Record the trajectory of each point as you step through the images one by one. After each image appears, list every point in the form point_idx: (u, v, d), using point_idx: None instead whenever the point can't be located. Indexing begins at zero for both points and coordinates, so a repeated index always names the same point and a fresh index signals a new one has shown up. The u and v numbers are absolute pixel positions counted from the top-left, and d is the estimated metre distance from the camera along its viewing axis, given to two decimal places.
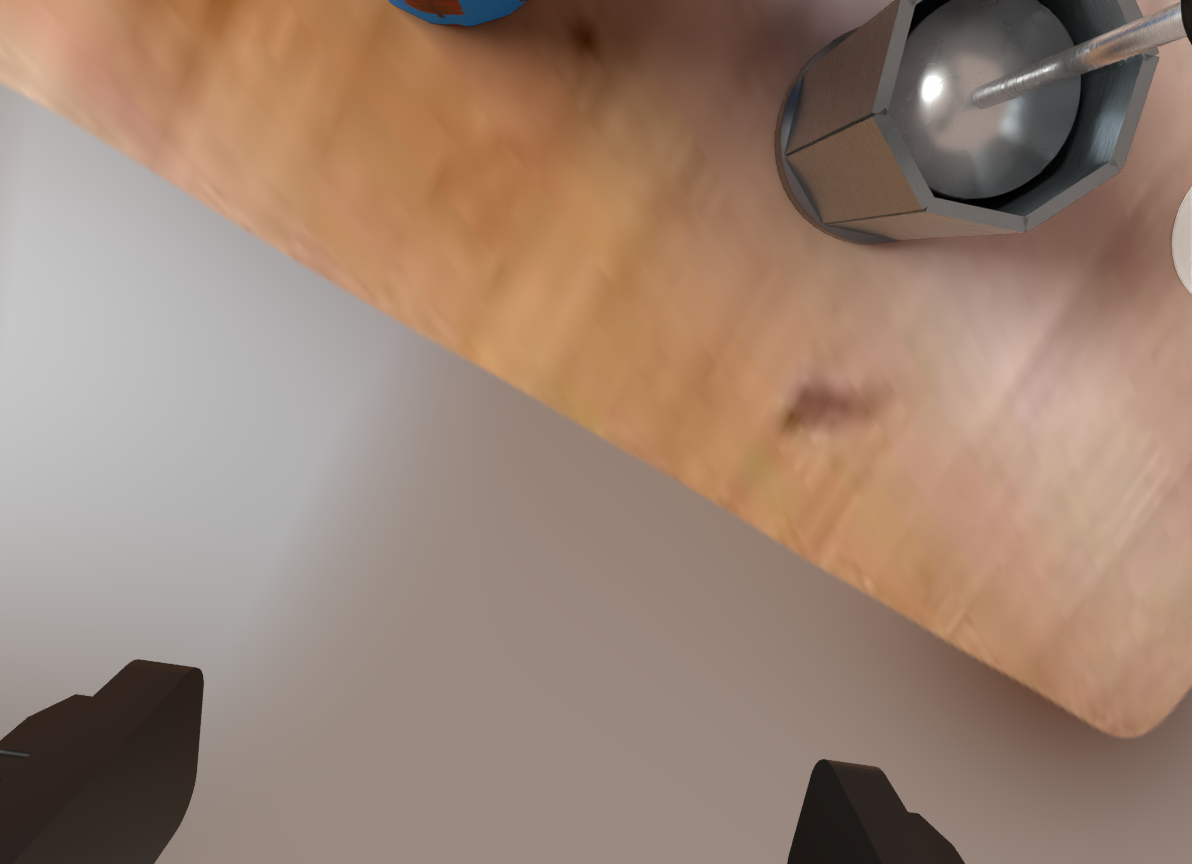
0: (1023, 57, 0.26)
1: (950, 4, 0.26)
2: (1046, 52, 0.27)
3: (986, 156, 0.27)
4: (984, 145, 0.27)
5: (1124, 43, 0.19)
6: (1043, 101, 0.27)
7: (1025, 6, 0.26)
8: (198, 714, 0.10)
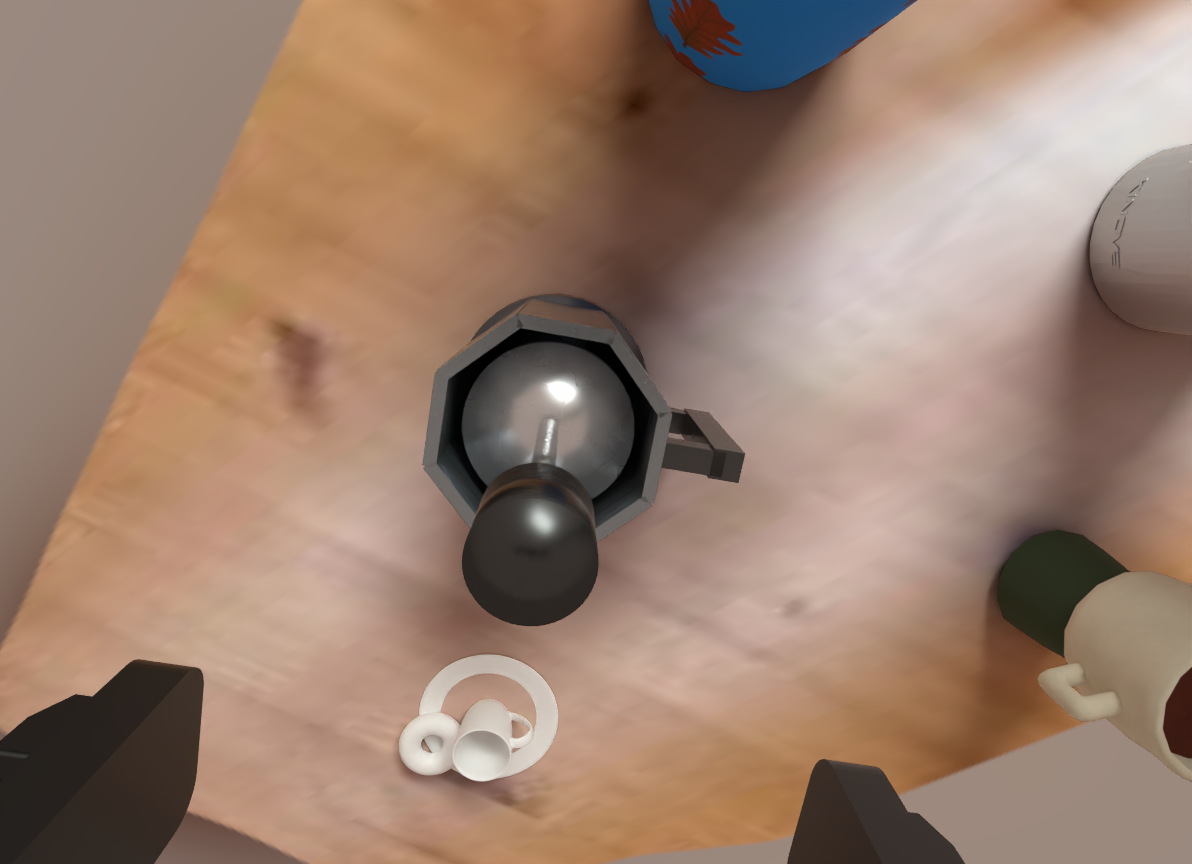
0: (581, 457, 0.31)
1: (622, 389, 0.30)
2: (586, 477, 0.31)
3: (498, 436, 0.30)
4: (508, 433, 0.30)
5: None
6: None
7: (621, 453, 0.31)
8: (198, 714, 0.10)
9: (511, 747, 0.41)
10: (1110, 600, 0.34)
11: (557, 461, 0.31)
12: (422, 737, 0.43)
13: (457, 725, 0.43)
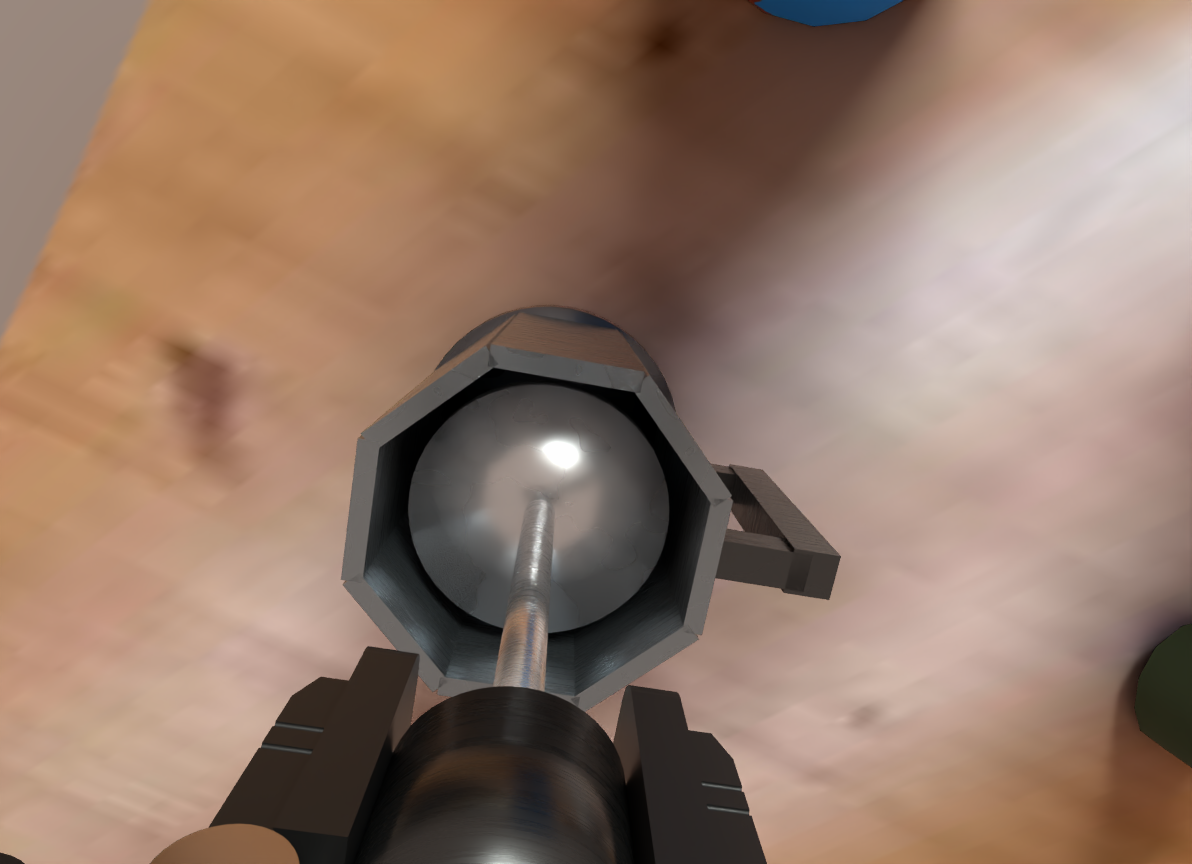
0: (589, 556, 0.20)
1: (651, 455, 0.20)
2: (596, 584, 0.21)
3: (464, 526, 0.20)
4: (478, 521, 0.20)
5: (510, 641, 0.13)
6: None
7: (649, 550, 0.20)
8: (414, 695, 0.11)
9: None
10: None
11: (552, 562, 0.20)
12: None
13: None
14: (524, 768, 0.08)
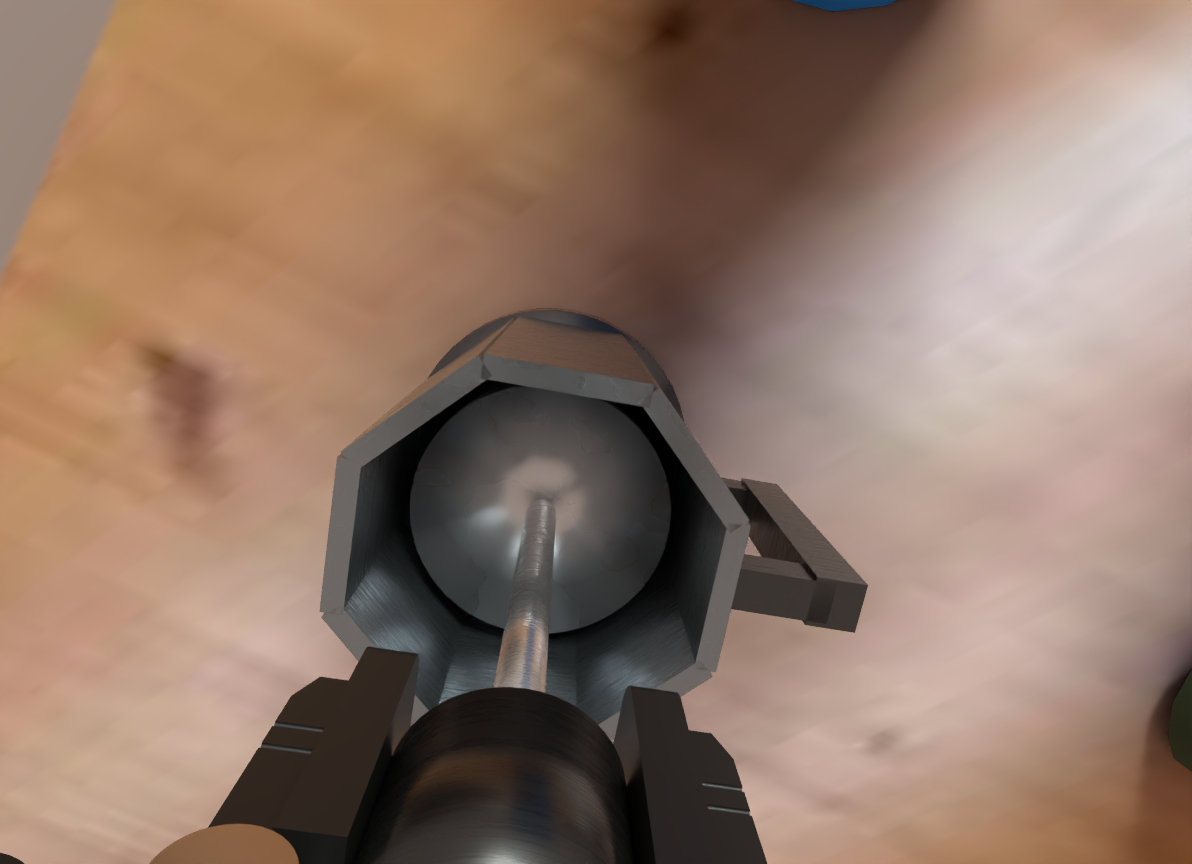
0: (591, 557, 0.20)
1: (653, 456, 0.20)
2: (597, 585, 0.20)
3: (465, 526, 0.20)
4: (479, 522, 0.20)
5: (511, 641, 0.13)
6: None
7: (651, 551, 0.20)
8: (414, 695, 0.11)
9: None
10: None
11: (554, 562, 0.20)
12: None
13: None
14: (524, 769, 0.08)
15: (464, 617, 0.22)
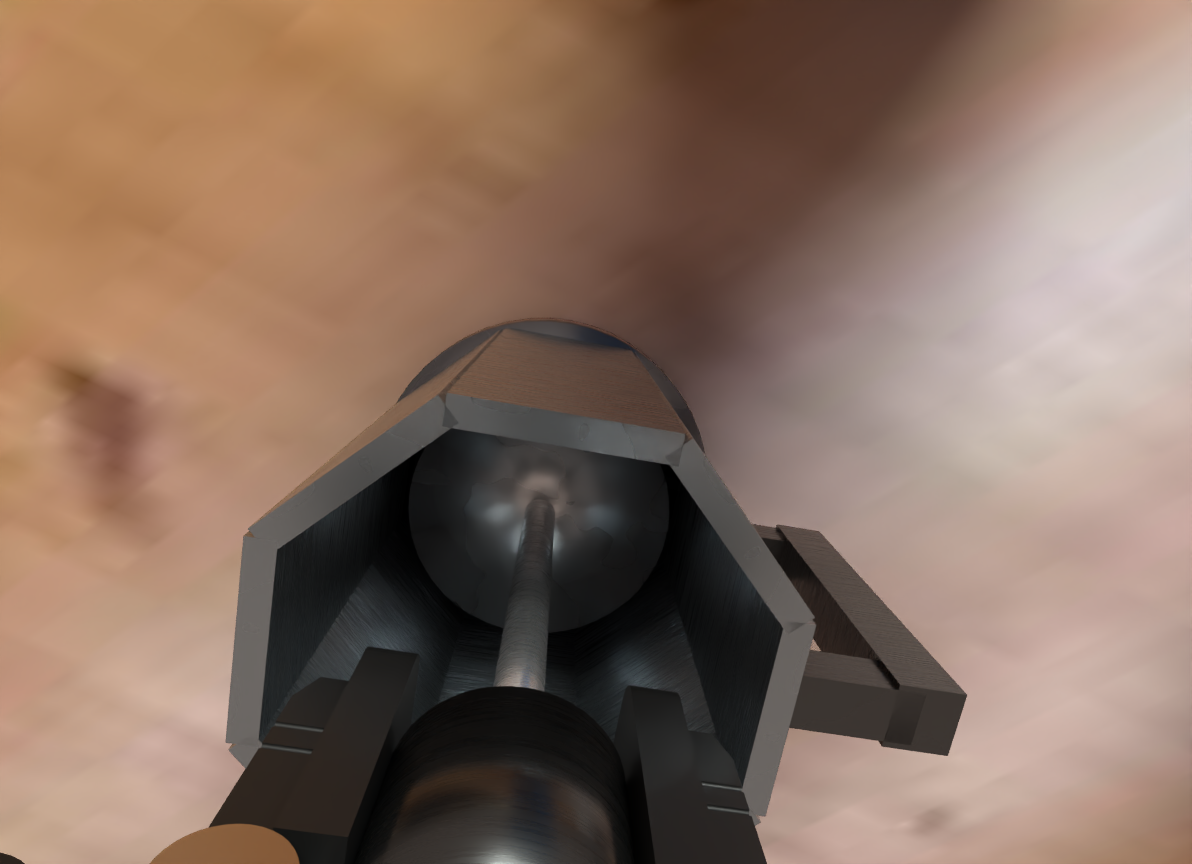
0: (589, 556, 0.20)
1: None
2: (596, 584, 0.21)
3: (464, 526, 0.20)
4: (478, 521, 0.20)
5: (510, 641, 0.13)
6: None
7: (649, 550, 0.20)
8: (414, 695, 0.11)
9: None
10: None
11: (553, 562, 0.20)
12: None
13: None
14: (524, 768, 0.08)
15: None
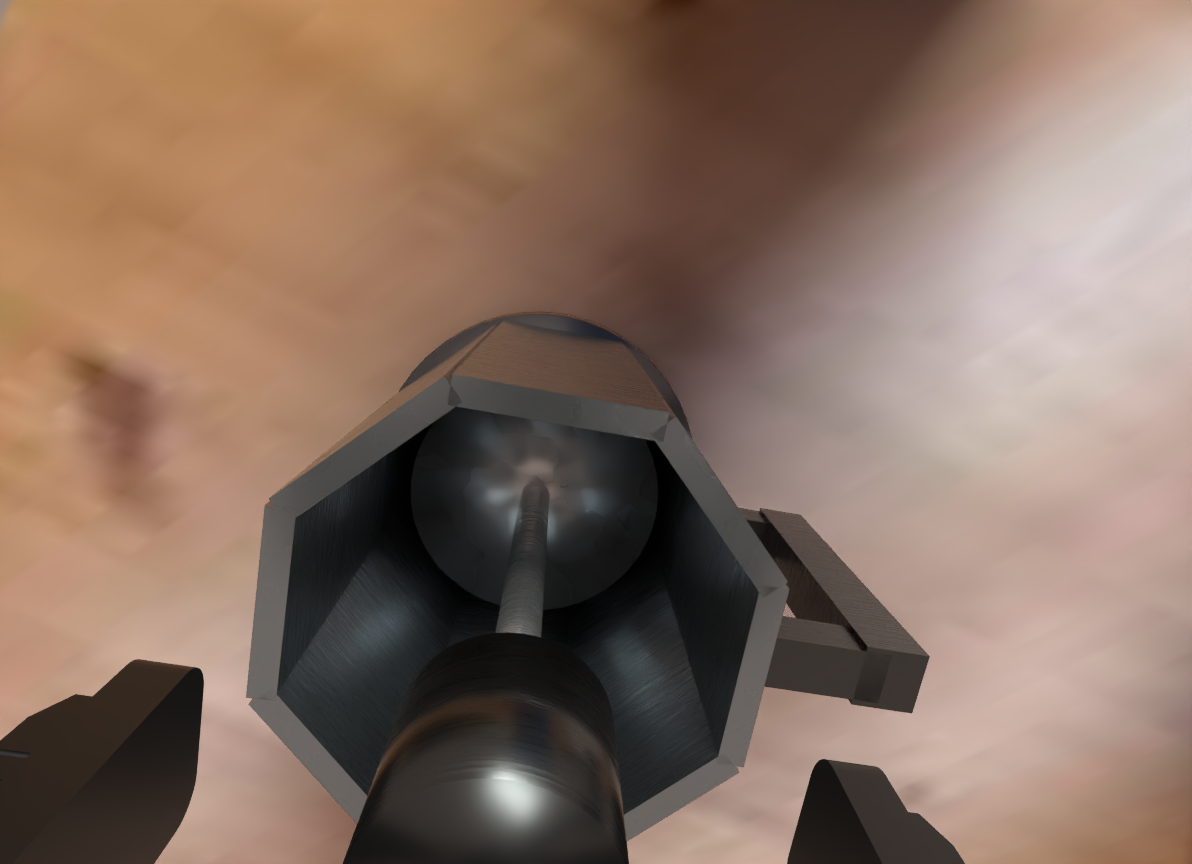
0: (582, 537, 0.21)
1: (641, 441, 0.21)
2: (588, 563, 0.22)
3: (463, 508, 0.21)
4: (477, 503, 0.21)
5: (509, 604, 0.14)
6: None
7: (639, 531, 0.21)
8: (198, 714, 0.10)
9: None
10: None
11: (548, 542, 0.21)
12: None
13: None
14: (524, 695, 0.09)
15: None
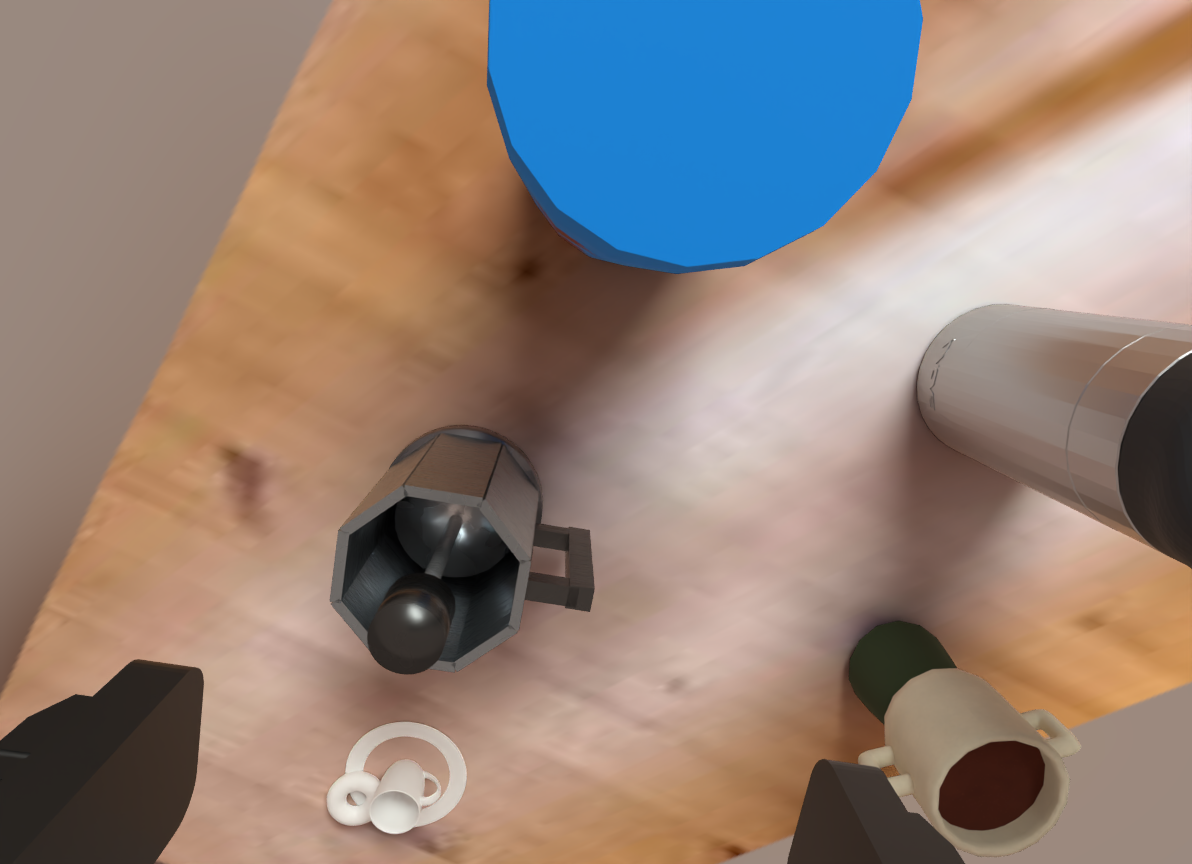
0: (479, 541, 0.44)
1: None
2: (483, 554, 0.44)
3: (420, 527, 0.43)
4: (427, 524, 0.43)
5: (428, 567, 0.36)
6: (454, 556, 0.44)
7: None
8: (198, 714, 0.10)
9: (420, 805, 0.47)
10: (915, 695, 0.41)
11: (462, 543, 0.44)
12: (346, 793, 0.49)
13: (378, 782, 0.50)
14: (420, 588, 0.31)
15: None
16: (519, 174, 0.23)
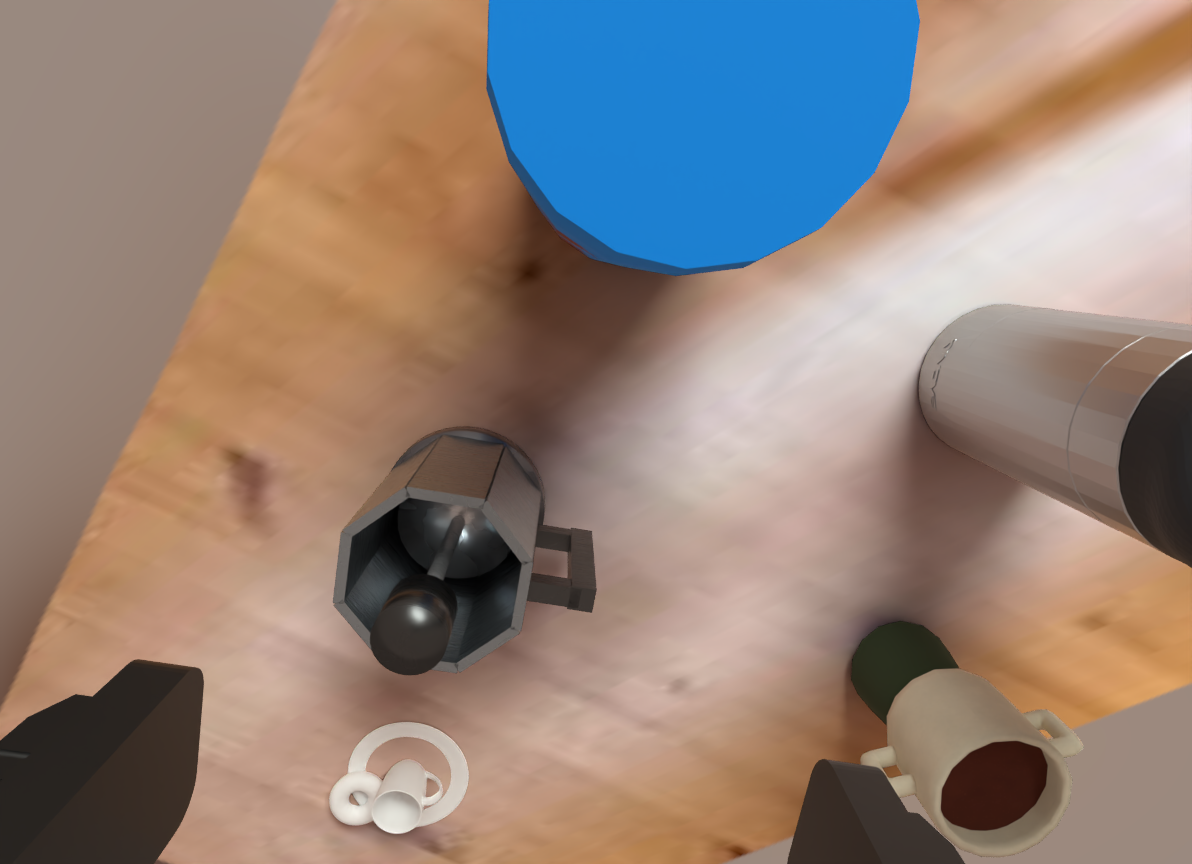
0: (482, 542, 0.44)
1: None
2: (485, 555, 0.44)
3: (423, 528, 0.43)
4: (429, 526, 0.43)
5: (431, 568, 0.36)
6: (457, 557, 0.44)
7: None
8: (198, 714, 0.10)
9: (422, 805, 0.48)
10: (917, 695, 0.41)
11: (465, 545, 0.44)
12: (349, 793, 0.50)
13: (380, 782, 0.50)
14: (422, 589, 0.31)
15: None
16: (519, 177, 0.23)
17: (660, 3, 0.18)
